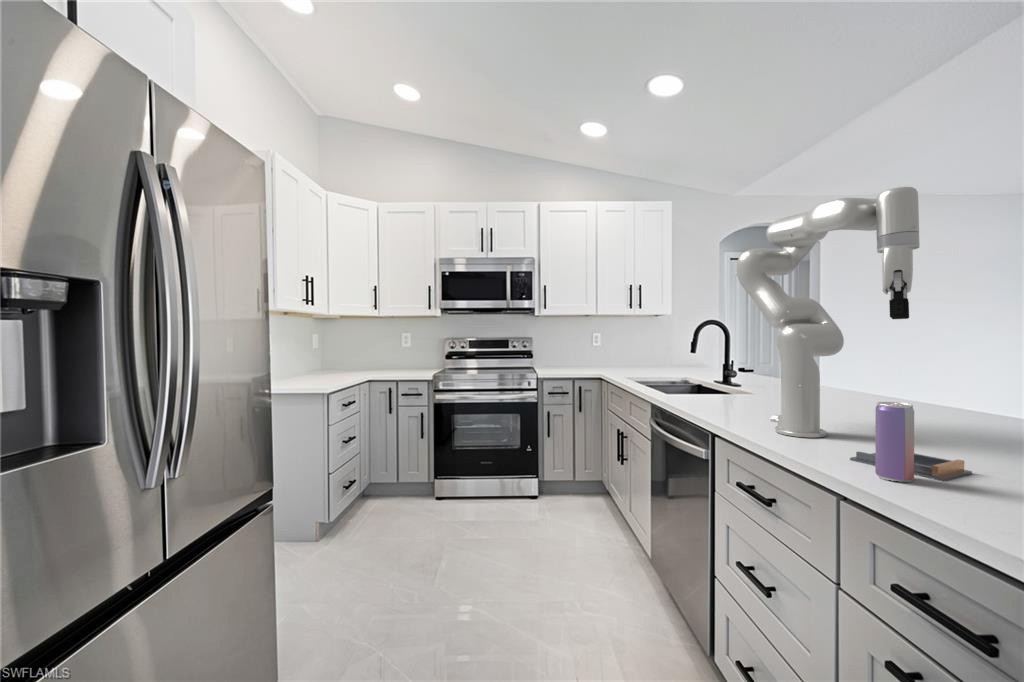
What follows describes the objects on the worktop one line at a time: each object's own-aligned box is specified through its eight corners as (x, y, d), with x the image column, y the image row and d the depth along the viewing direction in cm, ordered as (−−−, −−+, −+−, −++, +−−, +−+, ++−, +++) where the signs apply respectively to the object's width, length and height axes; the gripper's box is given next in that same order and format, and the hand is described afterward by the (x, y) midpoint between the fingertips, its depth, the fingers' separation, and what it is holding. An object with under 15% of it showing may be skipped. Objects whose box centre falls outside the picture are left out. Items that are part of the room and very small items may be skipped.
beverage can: (887, 482, 90) (888, 406, 90) (868, 473, 96) (868, 401, 96) (921, 483, 90) (922, 406, 89) (900, 474, 96) (900, 401, 95)
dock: (850, 459, 107) (850, 449, 107) (878, 454, 111) (878, 443, 111) (943, 481, 91) (943, 468, 91) (971, 473, 96) (971, 461, 95)
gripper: (879, 251, 115) (881, 320, 115) (874, 240, 102) (876, 317, 102) (919, 246, 111) (921, 318, 110) (919, 234, 98) (922, 315, 97)
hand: (899, 318), depth 106 cm, fingers open, 9 cm apart
